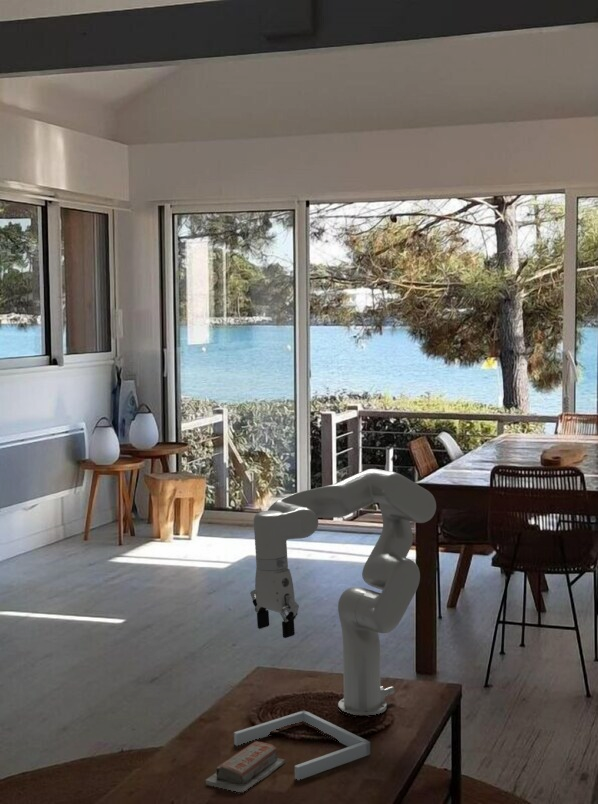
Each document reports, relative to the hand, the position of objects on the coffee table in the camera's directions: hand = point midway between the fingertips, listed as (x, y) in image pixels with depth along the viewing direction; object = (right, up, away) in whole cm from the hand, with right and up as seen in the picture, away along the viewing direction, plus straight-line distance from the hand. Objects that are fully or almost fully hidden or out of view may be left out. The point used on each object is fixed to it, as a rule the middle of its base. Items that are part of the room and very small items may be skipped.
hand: (276, 631), depth 271 cm
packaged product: (-6, -29, -17) cm, 34 cm away
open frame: (+6, -27, -5) cm, 28 cm away
